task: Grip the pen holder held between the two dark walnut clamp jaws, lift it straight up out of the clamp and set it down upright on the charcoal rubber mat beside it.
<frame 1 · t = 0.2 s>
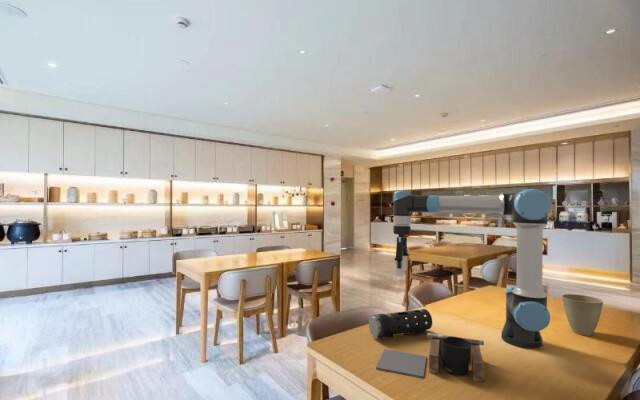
hand: (401, 272, 147), 28 cm above the table, tool pointing down, fingers open, 13 cm apart
muzzle brake: (400, 335, 147), on the table
pen holder: (455, 370, 116), on the table
plant pot: (581, 333, 152), on the table
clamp: (455, 370, 116), on the table
mat: (402, 363, 121), on the table
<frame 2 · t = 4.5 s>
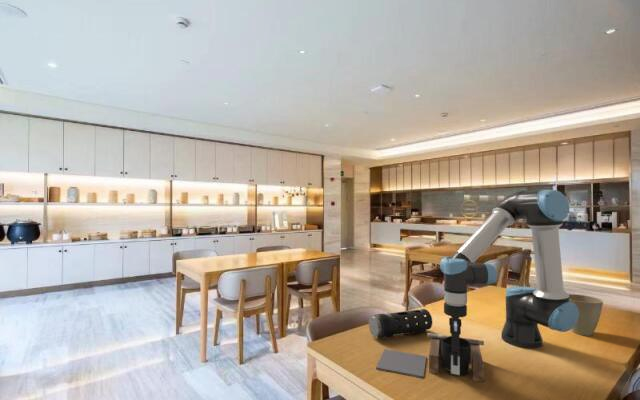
hand: (455, 367, 116), 1 cm above the table, tool pointing down, fingers closed on pen holder, 9 cm apart
pen holder: (455, 370, 116), on the table, touching gripper
everything else where it was.
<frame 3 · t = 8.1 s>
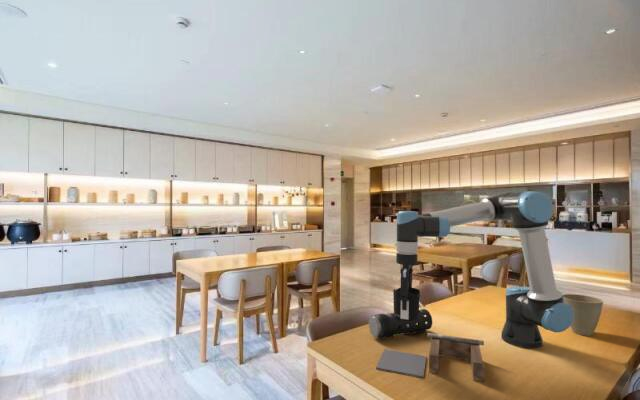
hand: (406, 314, 121), 18 cm above the table, tool pointing down, fingers closed on pen holder, 9 cm apart
pen holder: (406, 317, 121), point 17 cm above the table, touching gripper
everything else where it was.
when the fingers open (3 cm above the table, at t = 11.9 s): pen holder drops 1 cm, resting on mat.
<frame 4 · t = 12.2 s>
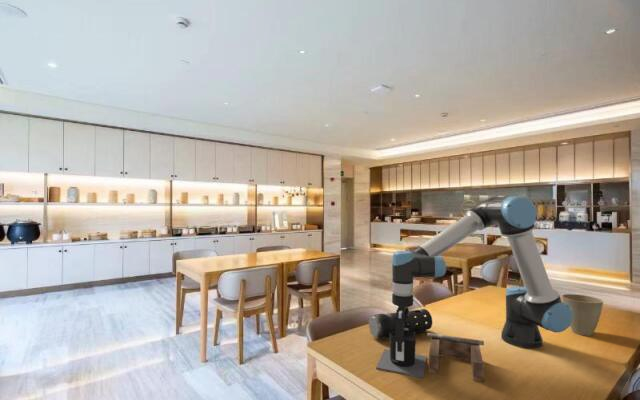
hand: (402, 352, 121), 4 cm above the table, tool pointing down, fingers open, 12 cm apart
pen holder: (402, 361, 121), resting on mat
everything else where it was.
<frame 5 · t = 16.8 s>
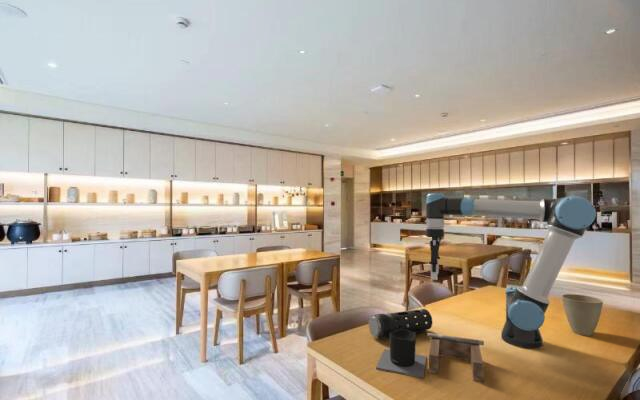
hand: (434, 276, 146), 27 cm above the table, tool pointing down, fingers open, 13 cm apart
nothing on the table moved.
at the end: pen holder inside the target area on the mat (0.1 cm from its centre), point 0.4 cm above the mat's base; pen holder tilted 0°; pen holder touching mat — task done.
